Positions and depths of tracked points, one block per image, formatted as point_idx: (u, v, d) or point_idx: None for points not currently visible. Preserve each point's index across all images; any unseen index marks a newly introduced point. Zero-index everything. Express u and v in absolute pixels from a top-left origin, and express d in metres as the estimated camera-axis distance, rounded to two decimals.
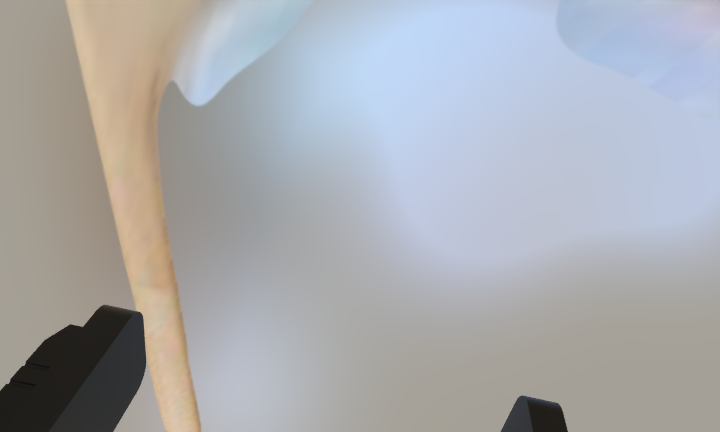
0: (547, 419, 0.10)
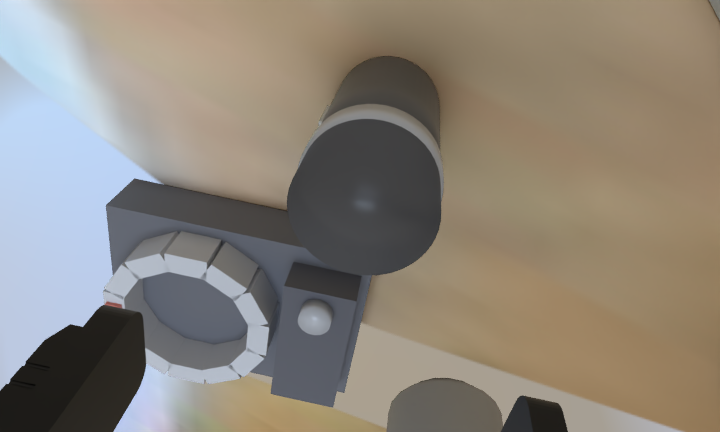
0: (547, 419, 0.10)
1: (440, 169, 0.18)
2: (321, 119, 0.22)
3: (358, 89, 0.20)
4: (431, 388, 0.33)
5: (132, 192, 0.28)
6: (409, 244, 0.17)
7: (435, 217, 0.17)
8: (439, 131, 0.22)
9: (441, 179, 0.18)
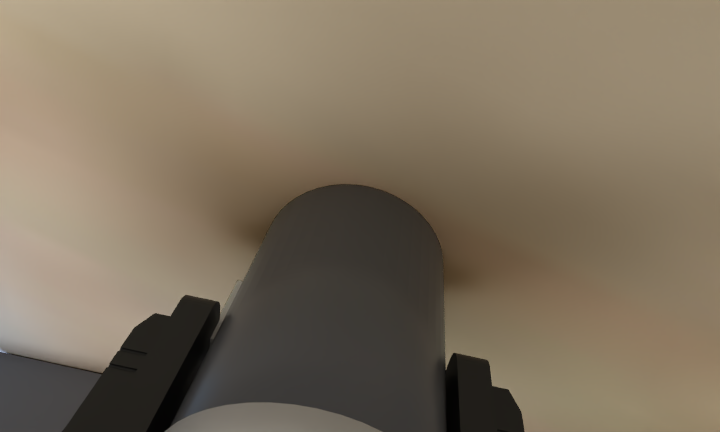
0: (473, 372, 0.11)
1: None
2: (214, 331, 0.11)
3: (273, 306, 0.10)
4: None
5: None
6: None
7: None
8: (444, 364, 0.11)
9: None
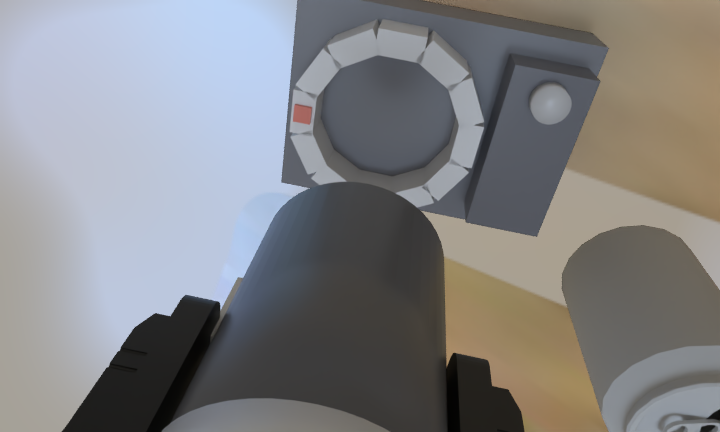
0: (473, 372, 0.11)
1: None
2: (214, 328, 0.11)
3: (274, 302, 0.10)
4: (625, 233, 0.29)
5: None
6: None
7: None
8: (445, 361, 0.11)
9: None
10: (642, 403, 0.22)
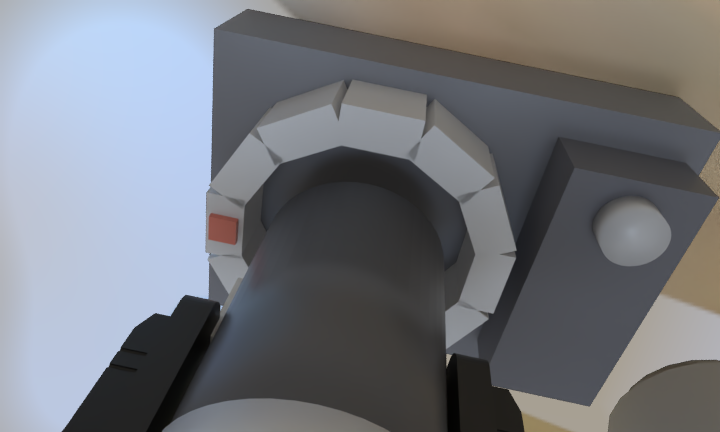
0: (473, 372, 0.11)
1: None
2: (214, 328, 0.11)
3: (274, 302, 0.10)
4: (707, 375, 0.20)
5: (252, 21, 0.16)
6: None
7: None
8: (445, 361, 0.11)
9: None
10: None
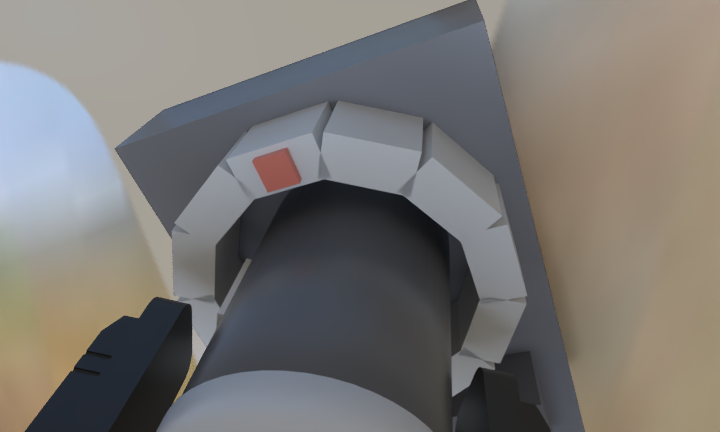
0: (501, 388, 0.10)
1: None
2: (224, 306, 0.12)
3: (285, 280, 0.10)
4: None
5: None
6: None
7: None
8: None
9: None
10: None
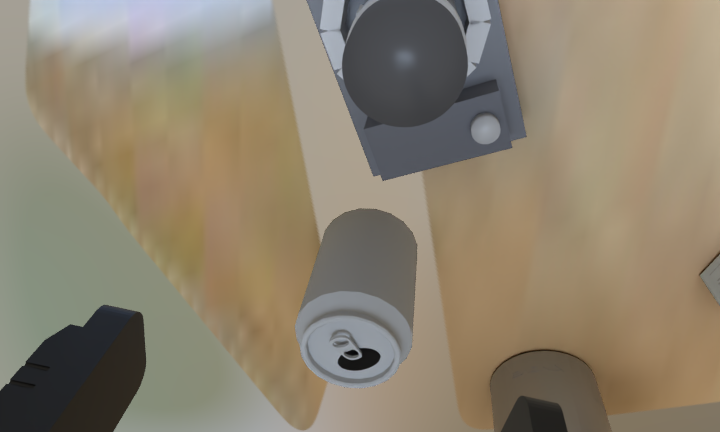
0: (547, 419, 0.10)
1: (465, 39, 0.22)
2: (358, 12, 0.26)
3: None
4: (402, 227, 0.39)
5: None
6: (440, 97, 0.21)
7: (463, 71, 0.21)
8: None
9: (465, 48, 0.22)
10: (344, 314, 0.31)
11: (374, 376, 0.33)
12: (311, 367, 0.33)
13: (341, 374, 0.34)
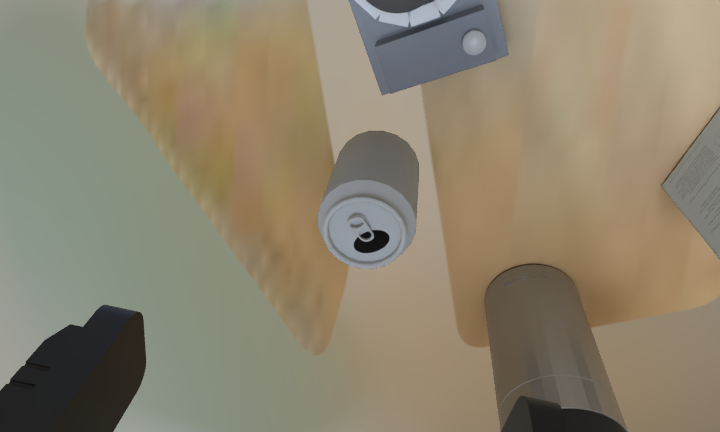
0: (547, 419, 0.10)
1: None
2: None
3: None
4: (406, 145, 0.45)
5: None
6: None
7: None
8: None
9: None
10: (360, 197, 0.37)
11: (384, 257, 0.40)
12: (331, 249, 0.39)
13: (356, 257, 0.40)
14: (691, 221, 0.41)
